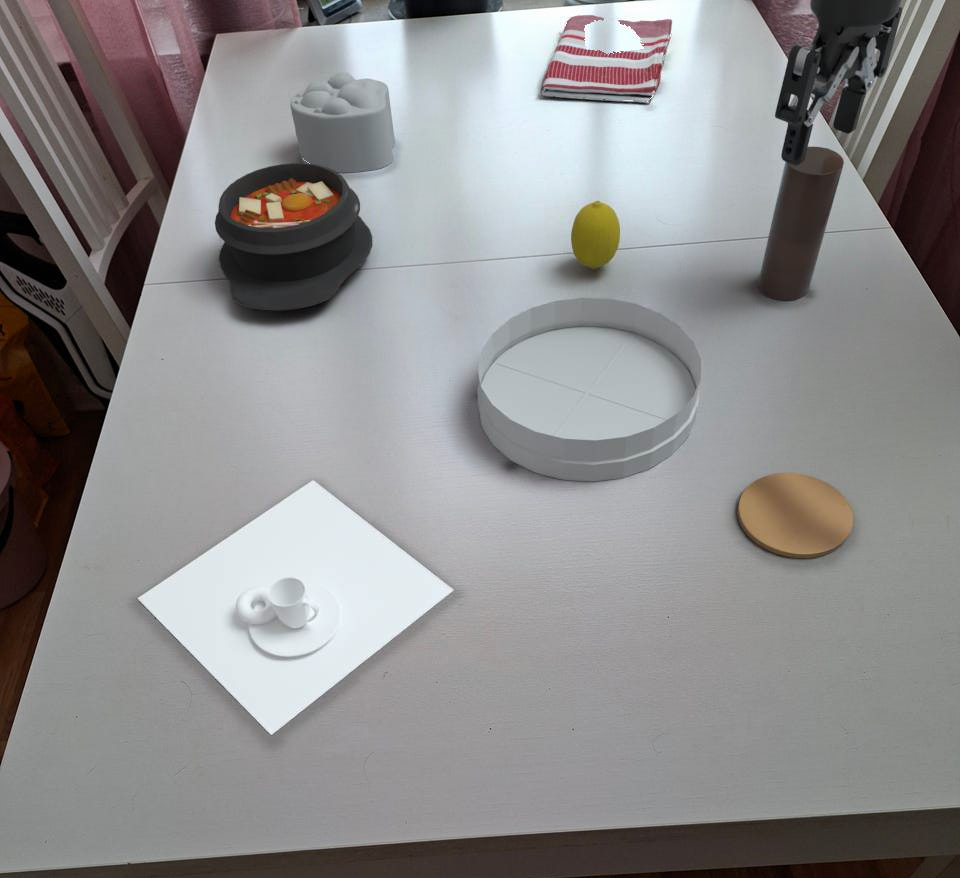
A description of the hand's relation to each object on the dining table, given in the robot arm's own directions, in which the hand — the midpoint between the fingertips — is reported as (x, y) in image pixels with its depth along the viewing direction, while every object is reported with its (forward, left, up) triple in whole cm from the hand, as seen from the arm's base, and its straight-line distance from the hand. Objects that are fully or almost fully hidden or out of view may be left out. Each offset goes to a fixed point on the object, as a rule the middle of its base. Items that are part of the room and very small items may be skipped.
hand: (818, 145), depth 88 cm
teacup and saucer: (+66, -3, -16) cm, 68 cm away
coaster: (+28, +22, -15) cm, 39 cm away
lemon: (+12, -18, -16) cm, 27 cm away
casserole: (+35, -45, -16) cm, 59 cm away
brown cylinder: (0, 0, -15) cm, 15 cm away
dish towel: (-28, -53, -16) cm, 62 cm away
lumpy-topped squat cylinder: (+15, -62, -16) cm, 66 cm away
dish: (+30, -2, -16) cm, 34 cm away
